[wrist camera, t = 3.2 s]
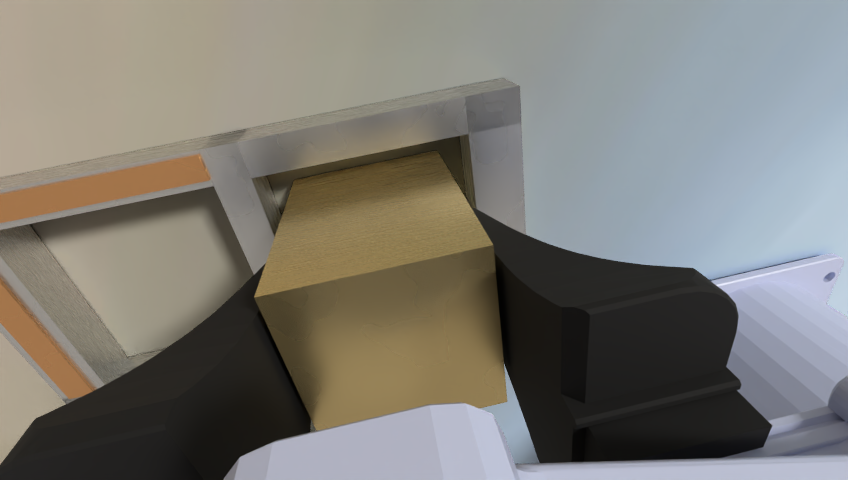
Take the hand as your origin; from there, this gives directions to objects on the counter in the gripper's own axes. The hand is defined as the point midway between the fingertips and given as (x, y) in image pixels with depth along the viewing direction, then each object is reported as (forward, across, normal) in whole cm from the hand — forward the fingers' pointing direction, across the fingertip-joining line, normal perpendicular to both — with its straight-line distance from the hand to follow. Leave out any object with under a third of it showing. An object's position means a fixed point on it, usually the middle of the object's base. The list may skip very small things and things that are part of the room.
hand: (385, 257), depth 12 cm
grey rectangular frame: (+2, +4, 0) cm, 4 cm away
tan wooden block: (+2, 0, 0) cm, 2 cm away
